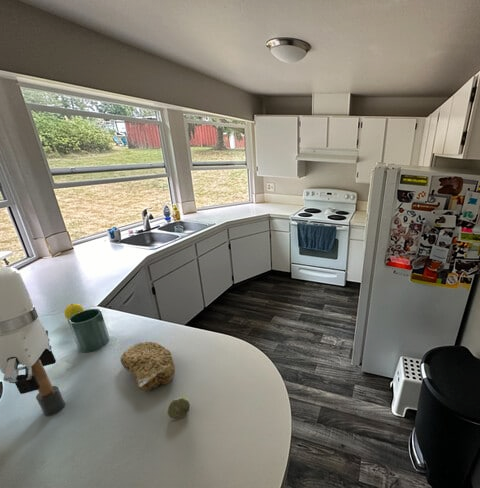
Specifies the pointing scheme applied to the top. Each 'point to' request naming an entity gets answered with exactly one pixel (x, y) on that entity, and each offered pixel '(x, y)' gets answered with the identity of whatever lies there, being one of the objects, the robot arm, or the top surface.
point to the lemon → (72, 310)
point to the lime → (178, 408)
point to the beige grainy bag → (149, 364)
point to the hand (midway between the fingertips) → (39, 376)
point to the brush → (47, 391)
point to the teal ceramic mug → (89, 330)
